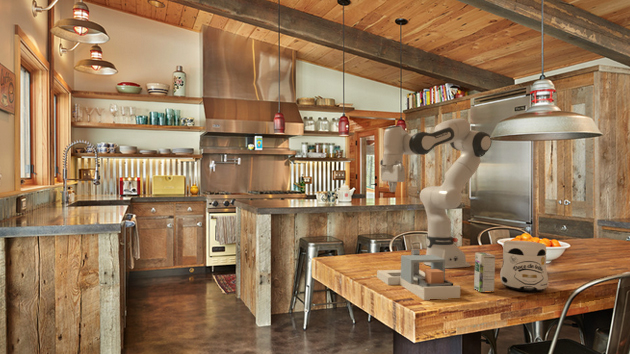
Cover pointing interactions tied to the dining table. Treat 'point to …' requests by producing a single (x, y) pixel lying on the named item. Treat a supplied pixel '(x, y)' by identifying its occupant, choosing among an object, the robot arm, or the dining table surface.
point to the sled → (421, 278)
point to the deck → (418, 286)
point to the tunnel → (409, 261)
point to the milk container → (524, 266)
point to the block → (434, 276)
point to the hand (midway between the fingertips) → (392, 191)
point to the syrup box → (484, 272)
